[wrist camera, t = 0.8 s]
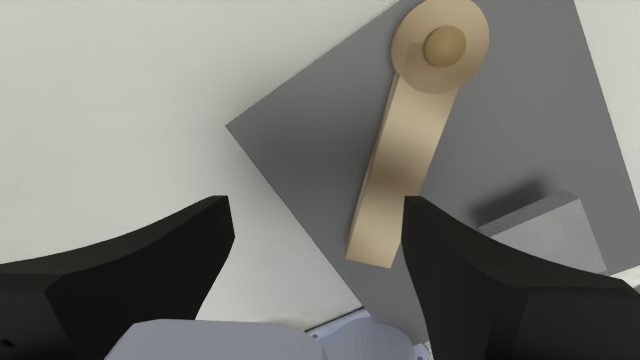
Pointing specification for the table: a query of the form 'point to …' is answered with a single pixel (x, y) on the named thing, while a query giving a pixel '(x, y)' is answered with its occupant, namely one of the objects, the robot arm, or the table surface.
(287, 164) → the board
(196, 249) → the robot arm
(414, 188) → the link
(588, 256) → the block
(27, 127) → the table surface
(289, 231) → the table surface
